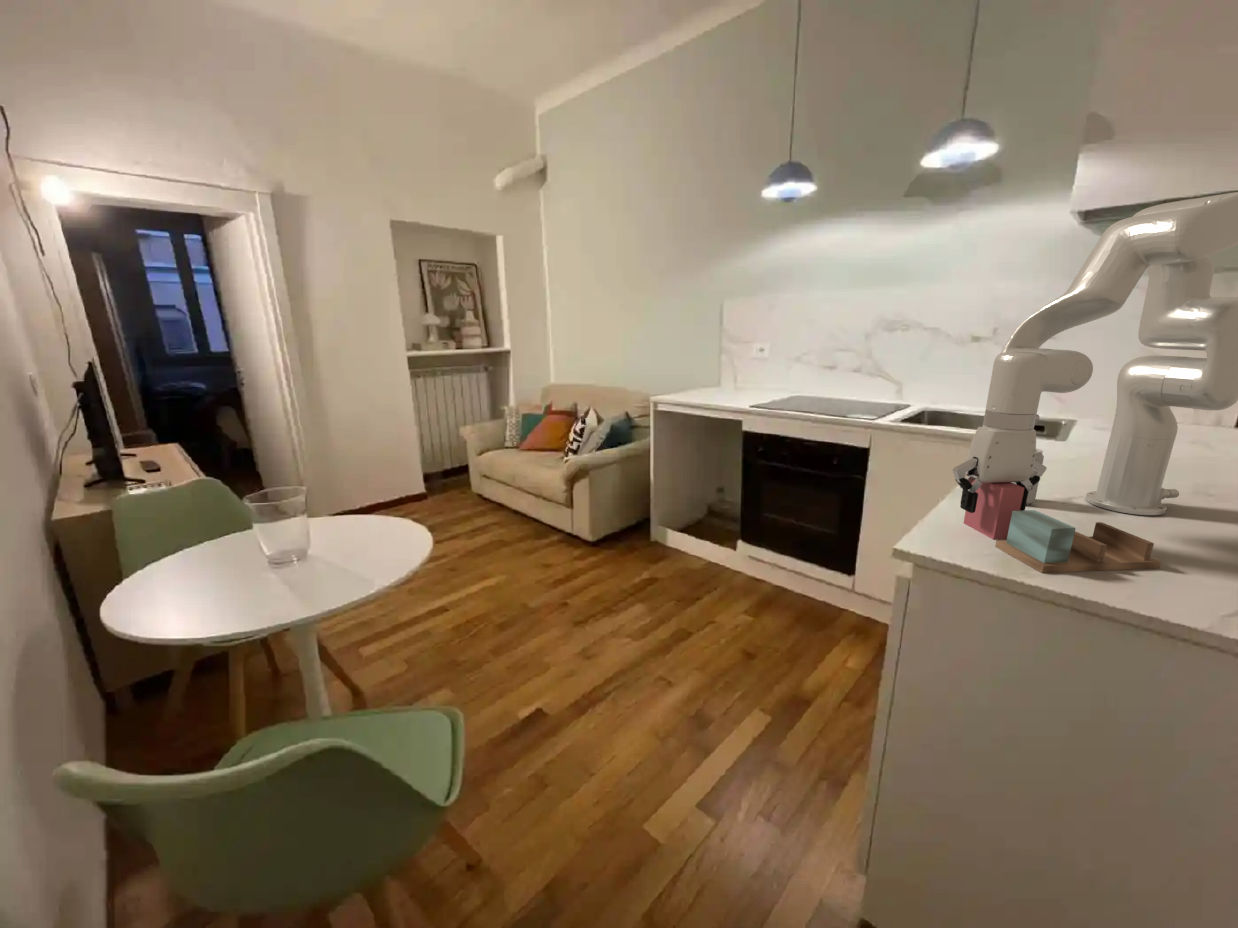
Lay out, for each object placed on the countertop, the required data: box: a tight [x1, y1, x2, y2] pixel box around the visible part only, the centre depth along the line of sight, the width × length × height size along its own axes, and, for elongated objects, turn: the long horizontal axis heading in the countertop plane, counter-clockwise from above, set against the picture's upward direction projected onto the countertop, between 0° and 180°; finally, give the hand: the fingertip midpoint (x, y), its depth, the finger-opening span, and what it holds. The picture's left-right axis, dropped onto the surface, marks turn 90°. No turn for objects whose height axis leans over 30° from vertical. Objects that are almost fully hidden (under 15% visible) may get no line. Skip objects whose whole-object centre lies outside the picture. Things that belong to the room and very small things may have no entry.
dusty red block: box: [963, 480, 1024, 541], centre depth 99 cm, size 4×8×10 cm, turn 3°
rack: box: [995, 509, 1162, 574], centre depth 88 cm, size 20×10×7 cm, turn 93°
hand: (991, 509), depth 99 cm, fingers open, 9 cm apart
